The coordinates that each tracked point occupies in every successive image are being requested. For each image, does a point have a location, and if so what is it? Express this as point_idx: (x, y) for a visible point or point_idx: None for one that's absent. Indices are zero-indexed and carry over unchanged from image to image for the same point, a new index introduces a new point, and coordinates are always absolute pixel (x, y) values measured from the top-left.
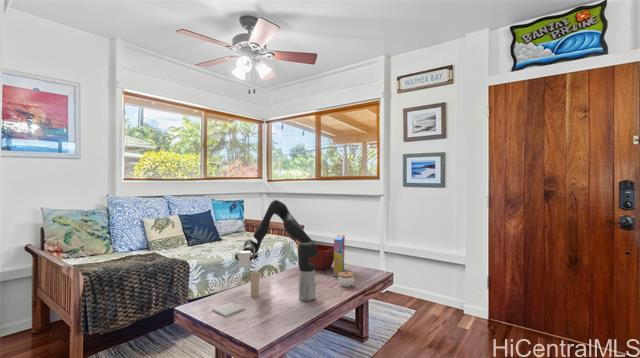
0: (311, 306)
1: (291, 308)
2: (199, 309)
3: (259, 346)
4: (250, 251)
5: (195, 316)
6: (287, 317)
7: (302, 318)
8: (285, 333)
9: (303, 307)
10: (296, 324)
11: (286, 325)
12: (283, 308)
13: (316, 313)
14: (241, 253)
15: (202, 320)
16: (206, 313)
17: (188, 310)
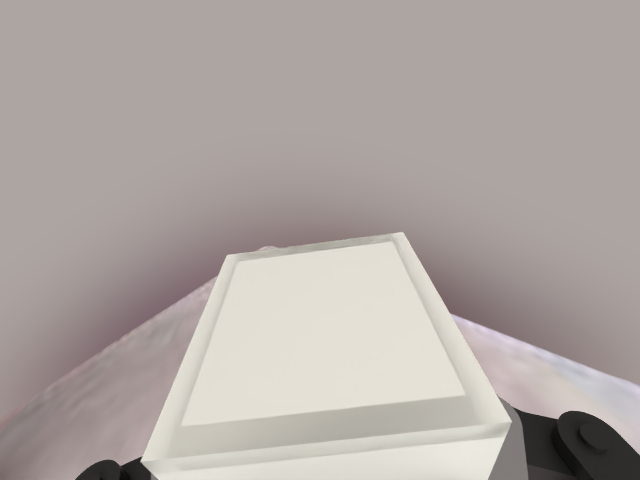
0: (2, 472)
1: (111, 440)
2: (556, 404)
3: (266, 248)
4: (189, 361)
5: (504, 339)
6: (167, 356)
7: (123, 353)
8: (205, 283)
9: (49, 456)
10: (161, 319)
11: (190, 313)
12: (147, 438)
13: (47, 393)
14: (359, 240)
15: (452, 316)
16: (482, 365)
17: (600, 389)
